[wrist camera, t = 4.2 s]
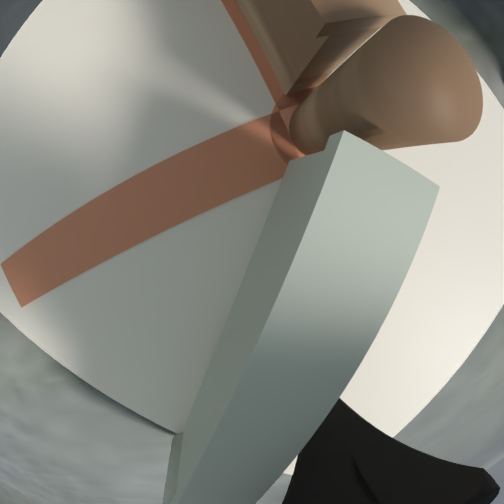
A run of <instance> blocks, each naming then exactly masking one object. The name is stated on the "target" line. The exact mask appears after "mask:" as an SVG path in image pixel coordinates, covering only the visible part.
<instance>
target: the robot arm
mask: <svg viewBox="0 0 504 504" xmlns="http://www.w3.org/2000/svg"><path fill="white" fill-rule="evenodd" d="M499 490H500V487H499V486H498V484H497V483H496V482H495V480H494V479H493V478H492V476H491V475H490V474H488V473H487V472H486V471H485V469H483V468H477V467H471V466H466V465H461V464H456V463H452V462H449V461H446V460H442V459H439V458H436V457H433V456H431V455H428V454H426V453H423V452H421V451H418V450H416V449H413V448H411V447H409V446H407V445H405V444H403V443H401V442H399V441H397V440H396V439H394V438H392V437H390V436H389V435H387V434H385V433H384V432H382V431H381V430H379V429H378V428H376V427H375V426H373V425H372V424H371V423H369V422H368V421H366V420H365V419H364V418H362V417H361V416H360V415H359V414H357V413H356V412H355V411H354V410H353V409H352V408H350V407H349V406H348V405H347V404H346V403H345V402H344V401H343V400H341V399H340V398H339V399H338V400H337V402H336V403H335V405H334V406H333V408H332V409H331V411H330V412H329V414H328V415H327V416H326V418H325V419H324V421H323V422H322V423H321V425H320V426H319V428H318V429H317V430H316V432H315V433H314V434H313V436H312V437H311V438H310V440H309V441H308V442H307V444H306V445H305V446H304V448H303V449H302V450H301V451H300V453H299V454H298V456H297V460H296V464H295V468H294V472H293V475H292V478H291V481H290V484H289V487H288V490H287V493H286V496H285V498H284V500H283V503H282V504H490V503H491V502H492V501H493V500H494V499H495V498H496V496H497V495H498V493H499Z"/></svg>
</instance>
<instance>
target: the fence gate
mask: <svg viewBox="0 0 504 504" xmlns="http://www.w3.org/2000/svg"><path fill="white" fill-rule="evenodd" d="M439 188H440V186H438V185H437V184H435V183H434V182H432V181H431V180H429V179H428V178H426V177H425V176H423V175H422V174H420V173H419V172H417V171H415V170H414V169H412V168H411V167H409V166H407V165H406V164H404V163H402V162H401V161H399V160H397V159H396V158H394V157H392V156H391V155H389V154H387V153H386V152H384V151H382V150H380V149H379V148H377V147H375V146H373V145H371V144H369V143H368V142H366V141H364V140H362V139H360V138H358V137H356V136H354V135H353V134H351V133H349V132H347V131H345V130H343V131H341V132H338V133H336V134H333V135H331V136H329V139H328V142H327V144H326V147H325V150H324V151H321V152H317V153H314V154H310V155H307V156H304V157H300V158H297V159H294V160H290V161H289V163H288V166H287V168H286V171H285V173H284V176H283V179H282V181H281V184H280V186H279V189H278V191H277V194H276V196H275V199H274V202H273V204H272V207H271V209H270V212H269V214H268V217H267V219H266V222H265V225H264V227H263V230H262V232H261V235H260V237H259V240H258V242H257V245H256V247H255V250H254V253H253V255H252V258H251V260H250V263H249V265H248V268H247V270H246V273H245V275H244V278H243V281H242V283H241V286H240V288H239V291H238V293H237V296H236V298H235V301H234V303H233V306H232V309H231V311H230V314H229V316H228V319H227V321H226V324H225V326H224V329H223V331H222V334H221V337H220V339H219V342H218V344H217V347H216V349H215V352H214V354H213V357H212V359H211V362H210V364H209V367H208V369H207V372H206V375H205V377H204V380H203V382H202V385H201V387H200V390H199V392H198V395H197V397H196V400H195V402H194V405H193V407H192V410H191V413H190V415H189V418H188V420H187V423H186V425H185V428H184V432H182V433H179V434H177V435H175V436H174V437H173V440H172V445H171V452H170V458H169V464H168V471H167V477H166V484H165V491H164V498H163V504H255V503H256V502H257V501H258V500H259V499H260V498H261V497H262V496H263V495H264V494H265V493H266V491H267V490H268V489H269V488H270V487H271V486H272V485H273V484H274V483H275V481H276V480H277V479H278V478H279V477H280V476H281V474H282V473H283V472H284V471H285V470H286V469H287V467H288V466H289V465H290V464H291V463H292V461H293V460H294V459H295V458H296V456H297V455H298V454H299V453H300V451H301V450H302V449H303V448H304V446H305V445H306V444H307V442H308V441H309V440H310V438H311V437H312V436H313V434H314V433H315V432H316V430H317V429H318V428H319V426H320V425H321V423H322V422H323V421H324V419H325V418H326V416H327V415H328V414H329V412H330V411H331V409H332V408H333V406H334V405H335V403H336V402H337V400H338V399H339V397H340V396H341V394H342V393H343V391H344V390H345V388H346V387H347V385H348V383H349V382H350V380H351V379H352V377H353V375H354V374H355V372H356V370H357V369H358V367H359V365H360V364H361V362H362V360H363V359H364V357H365V355H366V354H367V352H368V350H369V348H370V347H371V345H372V343H373V341H374V339H375V338H376V336H377V334H378V332H379V330H380V328H381V326H382V324H383V323H384V321H385V319H386V317H387V315H388V313H389V311H390V309H391V307H392V305H393V303H394V301H395V299H396V297H397V295H398V292H399V290H400V288H401V286H402V284H403V282H404V279H405V277H406V275H407V273H408V270H409V268H410V266H411V264H412V261H413V259H414V256H415V254H416V252H417V249H418V247H419V244H420V242H421V239H422V237H423V234H424V231H425V229H426V226H427V223H428V221H429V218H430V215H431V212H432V209H433V206H434V204H435V201H436V198H437V194H438V191H439Z"/></svg>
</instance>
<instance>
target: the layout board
mask: <svg viewBox="0 0 504 504" xmlns="http://www.w3.org/2000/svg"><path fill="white" fill-rule="evenodd" d="M398 2H399V3H400V5H401V6H402V8H403V9H404V11H405V13H406V14H407V15H415V16H420V17H423V18H426V19H429V18H428V17H427V16H426V15H425V14H424V13H423V12H422V11H421V10H419V9H418V8H417V7H416V6H415V5H414V4H413V3H412V2H410V1H409V0H398ZM429 20H430V19H429ZM381 28H382V27H381ZM381 28H380V29H381ZM380 29H379V30H380ZM379 30H377V31H379ZM377 31H376V32H377ZM376 32H375V33H376ZM375 33H374V34H375ZM374 34H373V35H374ZM373 35H372V36H373ZM372 36H371V37H372ZM371 37H370V38H371ZM368 39H369V38H368ZM368 39H367V40H368ZM367 40H366V41H367ZM366 41H365V42H366ZM365 42H364V43H365ZM364 43H363V44H364ZM363 44H362V45H363ZM362 45H361V46H362ZM361 46H360V47H361ZM358 48H359V47H358ZM358 48H357V49H358ZM357 49H356V50H357ZM356 50H355V51H356ZM355 51H354V52H355ZM354 52H353V53H354ZM353 53H352V54H353ZM352 54H351V55H352ZM351 55H350V56H351ZM350 56H349V57H350ZM349 57H348V58H349ZM344 61H345V60H344ZM344 61H343V62H344ZM343 62H342V63H343ZM342 63H341V64H342ZM341 64H340V65H341ZM340 65H339V66H340ZM339 66H338V67H339ZM338 67H337V68H338ZM337 68H336V69H337ZM336 69H335V70H336ZM335 70H334V71H335ZM334 71H333V72H334ZM333 72H332V73H333ZM332 73H331V74H332ZM331 74H330V75H331ZM477 74H478V72H477ZM478 76H479V80H480V83H481V88H482V94H483V111H482V116H481V120H480V123H479V125H478V127H477V129H476V130H475V132H474V133H473V134H472V135H471V136H469V137H468V138H466V139H465V140H462V141H458V142H449V143H439V144H430V145H421V146H412V147H404V148H397V149H390V150H382V151H384V152H386V153H387V154H389V155H391V156H392V157H394V158H396V159H397V160H399V161H401V162H402V163H404V164H406V165H407V166H409V167H411V168H412V169H414V170H415V171H417V172H419V173H420V174H422V175H423V176H425V177H426V178H428V179H429V180H431V181H432V182H434V183H435V184H437V185H438V186H440V188H439V191H438V194H437V198H436V201H435V204H434V206H433V209H432V212H431V215H430V218H429V221H428V223H427V226H426V229H425V231H424V234H423V237H422V239H421V242H420V244H419V247H418V249H417V252H416V254H415V256H414V259H413V261H412V264H411V266H410V268H409V270H408V273H407V275H406V277H405V279H404V282H403V284H402V286H401V288H400V290H399V292H398V295H397V297H396V299H395V301H394V303H393V305H392V307H391V309H390V311H389V313H388V315H387V317H386V319H385V321H384V323H383V324H382V326H381V328H380V330H379V332H378V334H377V336H376V338H375V339H374V341H373V343H372V345H371V347H370V348H369V350H368V352H367V354H366V355H365V357H364V359H363V360H362V362H361V364H360V365H359V367H358V369H357V370H356V372H355V374H354V375H353V377H352V379H351V380H350V382H349V383H348V385H347V387H346V388H345V390H344V391H343V393H342V394H341V396H340V397H339V398H340V399H341V400H343V401H344V402H345V403H346V404H347V405H348V406H349V407H350V408H352V409H353V410H354V411H355V412H356V413H357V414H359V415H360V416H361V417H362V418H364V419H365V420H366V421H368V422H369V423H371V424H372V425H373V426H375V427H376V428H378V429H379V430H381V431H382V432H384V433H385V434H387V435H389V436H390V437H392V438H393V437H394V436H395V435H396V434H397V433H398V432H399V431H400V430H402V429H403V428H404V427H405V426H406V425H407V424H408V423H409V422H410V421H411V420H412V419H413V418H414V417H415V416H416V415H417V414H418V413H419V412H420V411H421V410H422V409H423V408H424V407H425V406H426V405H427V404H428V403H429V402H430V401H431V400H432V398H433V397H434V396H435V395H436V394H437V393H438V392H439V391H440V390H441V389H442V387H443V386H444V385H445V384H446V383H447V382H448V380H449V379H450V378H451V377H452V376H453V375H454V373H455V372H456V371H457V370H458V368H459V367H460V366H461V365H462V363H463V362H464V361H465V360H466V358H467V357H468V356H469V354H470V353H471V352H472V350H473V349H474V348H475V346H476V345H477V344H478V342H479V341H480V339H481V338H482V336H483V335H484V334H485V332H486V331H487V329H488V328H489V326H490V325H491V323H492V322H493V320H494V319H495V317H496V315H497V314H498V312H499V311H500V309H501V307H502V306H503V304H504V109H503V108H502V106H501V105H500V103H499V102H498V100H497V99H496V97H495V96H494V94H493V93H492V91H491V90H490V89H489V87H488V86H487V84H486V83H485V82H484V80H483V79H482V78H481V76H480V75H479V74H478ZM318 86H319V85H318ZM318 86H315V87H311V88H308V89H305V90H302V91H298V92H295V93H292V94H289V95H286V96H285V94H284V92H283V90H282V88H281V86H280V84H279V82H278V80H277V78H276V76H275V74H274V72H273V70H272V68H271V66H270V64H269V62H268V60H267V58H266V56H265V54H264V52H263V51H262V49H261V47H260V45H259V43H258V41H257V39H256V38H255V36H254V34H253V32H252V30H251V29H250V27H249V25H248V23H247V22H246V20H245V18H244V16H243V15H242V13H241V11H240V10H239V8H238V6H237V4H236V3H235V1H234V0H43V1H42V2H41V3H40V4H39V5H38V7H37V8H36V9H35V10H34V11H33V13H32V14H31V15H30V16H29V18H28V19H27V20H26V22H25V23H24V24H23V26H22V27H21V28H20V30H19V31H18V32H17V34H16V35H15V37H14V38H13V39H12V41H11V42H10V44H9V45H8V47H7V48H6V50H5V51H4V53H3V55H2V56H1V58H0V312H1V313H2V314H3V315H4V316H5V317H6V318H7V319H8V320H9V321H10V322H11V323H12V324H14V325H15V326H16V327H17V328H18V329H19V330H20V331H21V332H22V333H24V334H25V335H26V336H27V337H28V338H29V339H30V340H32V341H33V342H34V343H35V344H36V345H38V346H39V347H40V348H41V349H42V350H44V351H45V352H46V353H47V354H49V355H50V356H51V357H53V358H54V359H55V360H56V361H58V362H59V363H60V364H62V365H63V366H64V367H66V368H67V369H69V370H70V371H71V372H73V373H74V374H75V375H77V376H78V377H80V378H81V379H83V380H84V381H86V382H87V383H89V384H90V385H92V386H93V387H95V388H96V389H98V390H99V391H101V392H102V393H104V394H105V395H107V396H109V397H110V398H112V399H114V400H115V401H117V402H119V403H120V404H122V405H124V406H125V407H127V408H129V409H131V410H132V411H134V412H136V413H138V414H140V415H141V416H143V417H145V418H147V419H149V420H151V421H153V422H155V423H157V424H158V425H160V426H162V427H164V428H166V429H169V430H171V431H173V432H175V433H177V434H179V433H182V432H184V428H185V425H186V423H187V420H188V418H189V415H190V413H191V410H192V407H193V405H194V402H195V400H196V397H197V395H198V392H199V390H200V387H201V385H202V382H203V380H204V377H205V375H206V372H207V369H208V367H209V364H210V362H211V359H212V357H213V354H214V352H215V349H216V347H217V344H218V342H219V339H220V337H221V334H222V331H223V329H224V326H225V324H226V321H227V319H228V316H229V314H230V311H231V309H232V306H233V303H234V301H235V298H236V296H237V293H238V291H239V288H240V286H241V283H242V281H243V278H244V275H245V273H246V270H247V268H248V265H249V263H250V260H251V258H252V255H253V253H254V250H255V247H256V245H257V242H258V240H259V237H260V235H261V232H262V230H263V227H264V225H265V222H266V219H267V217H268V214H269V212H270V209H271V207H272V204H273V202H274V199H275V196H276V194H277V191H278V189H279V186H280V184H281V181H282V179H283V176H284V173H285V171H286V168H287V166H288V163H289V161H290V160H294V159H297V158H300V157H304V156H306V155H304V154H303V153H302V152H301V151H299V150H298V148H297V147H296V146H295V144H294V143H293V141H292V139H291V136H290V132H289V123H290V118H291V116H292V114H293V112H294V110H295V109H296V108H297V107H298V106H299V105H300V104H301V103H302V102H303V101H304V100H305V99H306V98H307V97H308V96H309V95H310V94H311V93H312V92H313V91H314V90H315V89H316V88H317V87H318ZM297 456H298V455H297ZM297 456H296V458H295V459H294V460H293V461H292V463H291V464H290V465H289V466H288V467H287V469H286V470H285V471H284V472H283V473H286V474H290V475H293V472H294V468H295V464H296V460H297Z"/></svg>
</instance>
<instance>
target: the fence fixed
mask: <svg viewBox="0 0 504 504" xmlns="http://www.w3.org/2000/svg"><path fill="white" fill-rule="evenodd" d="M234 1H235V3H236V4H237V6H238V8H239V10H240V11H241V13H242V15H243V16H244V18H245V20H246V22H247V23H248V25H249V27H250V29H251V30H252V32H253V34H254V36H255V38H256V39H257V41H258V43H259V45H260V47H261V49H262V51H263V52H264V54H265V56H266V58H267V60H268V62H269V64H270V66H271V68H272V70H273V72H274V74H275V76H276V78H277V80H278V82H279V84H280V86H281V88H282V90H283V92H284V94H285V96H286V95H289V94H292V93H295V92H298V91H302V90H305V89H308V88H311V87H315V86H318V85H319V86H318V87H317V88H316V89H315V90H314V91H313V92H312V93H311V94H310V95H309V96H308V97H307V98H306V99H305V100H304V101H303V102H302V103H301V104H300V105H299V106H298V107H297V108H296V109H295V110H294V112H293V114H292V116H291V118H290V123H289V132H290V136H291V139H292V141H293V143H294V144H295V146H296V147H297V148H298V150H299V151H301V152H302V153H303V154H304V155H306V156H307V155H310V154H314V153H317V152H321V151H324V150H325V147H326V144H327V142H328V139H329V136H331V135H333V134H336V133H338V132H341V131H343V130H345V131H347V132H349V133H351V134H353V135H354V136H356V137H358V138H360V139H362V140H364V141H366V142H368V143H369V144H371V145H373V146H375V147H377V148H379V149H380V150H390V149H397V148H404V147H412V146H421V145H430V144H439V143H449V142H458V141H462V140H465V139H466V138H468V137H469V136H471V135H472V134H473V133H474V132H475V130H476V129H477V127H478V125H479V123H480V120H481V116H482V111H483V94H482V88H481V83H480V80H479V76H478V74H477V71H476V69H475V67H474V64H473V62H472V61H471V59H470V57H469V55H468V54H467V52H466V51H465V50H464V48H463V47H462V46H461V44H460V43H459V42H458V41H457V40H456V39H455V38H454V37H453V36H452V35H451V34H450V33H449V32H448V31H447V30H445V29H444V28H443V27H441V26H440V25H438V24H436V23H435V22H433V21H431V20H429V19H426V18H423V17H420V16H415V15H407V14H406V13H405V11H404V9H403V8H402V6H401V5H400V3H399V2H398V0H234ZM381 27H382V28H381ZM380 28H381V29H380ZM379 29H380V30H379ZM377 30H379V31H377ZM376 31H377V32H376ZM375 32H376V33H375ZM374 33H375V34H374ZM373 34H374V35H373ZM372 35H373V36H372ZM371 36H372V37H371ZM370 37H371V38H370ZM368 38H369V39H368ZM367 39H368V40H367ZM366 40H367V41H366ZM365 41H366V42H365ZM364 42H365V43H364ZM363 43H364V44H363ZM362 44H363V45H362ZM361 45H362V46H361ZM360 46H361V47H360ZM358 47H359V48H358ZM357 48H358V49H357ZM356 49H357V50H356ZM355 50H356V51H355ZM354 51H355V52H354ZM353 52H354V53H353ZM352 53H353V54H352ZM351 54H352V55H351ZM350 55H351V56H350ZM349 56H350V57H349ZM348 57H349V58H348ZM344 60H345V61H344ZM343 61H344V62H343ZM342 62H343V63H342ZM341 63H342V64H341ZM340 64H341V65H340ZM339 65H340V66H339ZM338 66H339V67H338ZM337 67H338V68H337ZM336 68H337V69H336ZM335 69H336V70H335ZM334 70H335V71H334ZM333 71H334V72H333ZM332 72H333V73H332ZM331 73H332V74H331ZM330 74H331V75H330Z"/></svg>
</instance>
